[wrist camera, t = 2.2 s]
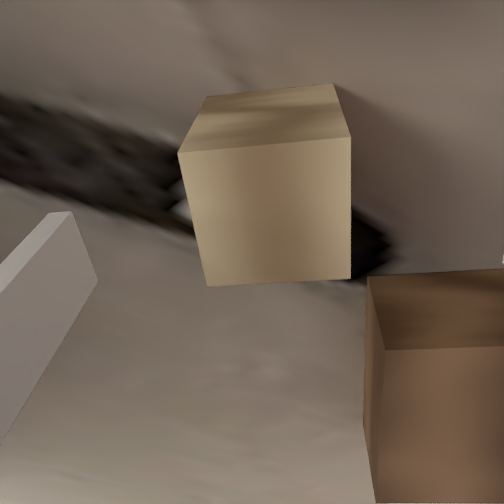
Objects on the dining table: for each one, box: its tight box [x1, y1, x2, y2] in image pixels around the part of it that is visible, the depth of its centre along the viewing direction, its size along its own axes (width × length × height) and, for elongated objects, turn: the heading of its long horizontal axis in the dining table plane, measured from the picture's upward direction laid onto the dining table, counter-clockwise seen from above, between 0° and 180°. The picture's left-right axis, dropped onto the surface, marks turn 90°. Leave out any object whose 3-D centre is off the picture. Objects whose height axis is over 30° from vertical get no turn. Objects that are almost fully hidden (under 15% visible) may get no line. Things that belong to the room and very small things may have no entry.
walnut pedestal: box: [363, 269, 504, 504], centre depth 23 cm, size 12×12×5 cm
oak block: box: [177, 83, 351, 287], centre depth 17 cm, size 5×5×6 cm
